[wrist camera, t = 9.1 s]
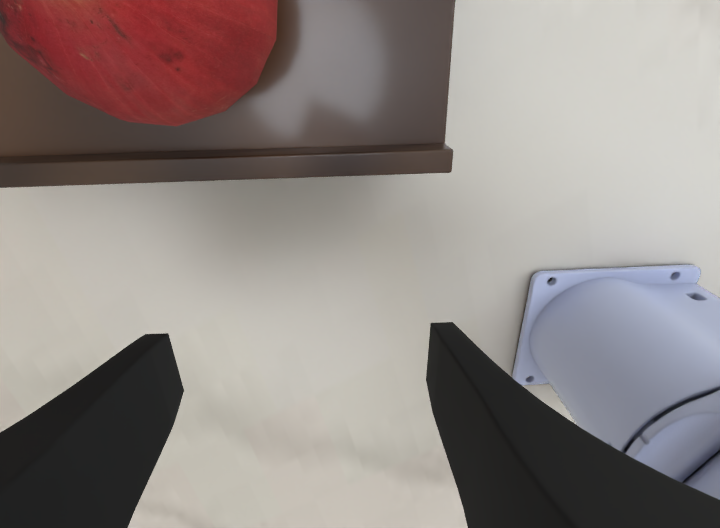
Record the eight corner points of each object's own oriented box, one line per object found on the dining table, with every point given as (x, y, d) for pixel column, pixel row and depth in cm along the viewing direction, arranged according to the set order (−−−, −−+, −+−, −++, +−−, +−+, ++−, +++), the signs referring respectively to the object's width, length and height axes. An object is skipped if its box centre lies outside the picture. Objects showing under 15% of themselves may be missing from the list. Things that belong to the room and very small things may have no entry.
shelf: (433, -144, 14) (488, -255, 9) (420, 143, 19) (451, 173, 14) (-30, -144, 14) (-242, -262, 9) (70, 153, 18) (-32, 189, 13)
